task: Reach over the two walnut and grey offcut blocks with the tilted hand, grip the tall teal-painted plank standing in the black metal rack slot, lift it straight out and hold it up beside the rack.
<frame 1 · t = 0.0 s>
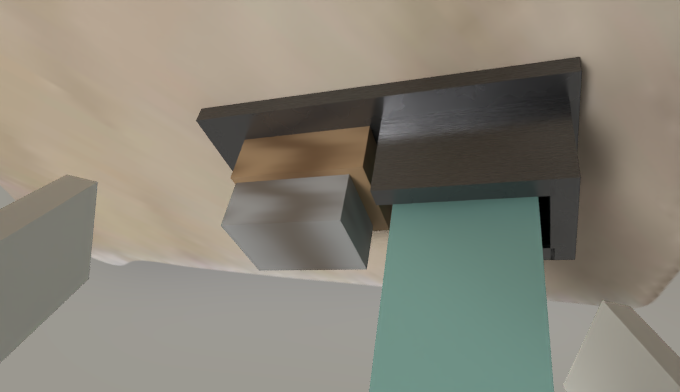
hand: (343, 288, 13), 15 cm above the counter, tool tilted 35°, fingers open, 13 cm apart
rack: (468, 140, 30), on the counter
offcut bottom: (321, 166, 32), point 1 cm above the counter, touching offcut top, rack
offcut top: (306, 204, 31), point 4 cm above the counter, touching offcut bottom
plank: (467, 153, 29), point 1 cm above the counter, touching rack
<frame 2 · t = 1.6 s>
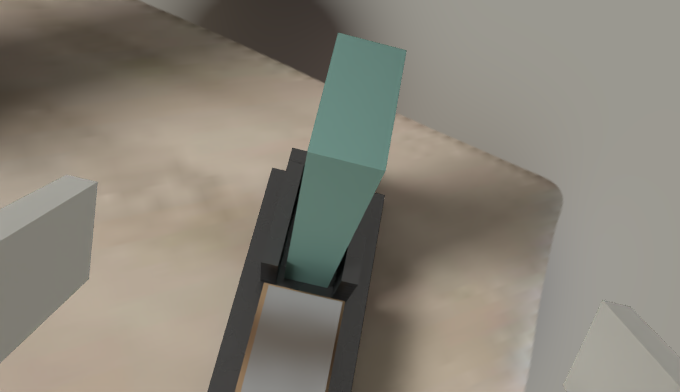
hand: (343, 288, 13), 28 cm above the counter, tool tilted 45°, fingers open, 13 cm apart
rack: (313, 246, 43), on the counter
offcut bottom: (289, 354, 38), point 1 cm above the counter, touching offcut top, rack
offcut top: (290, 353, 35), point 4 cm above the counter, touching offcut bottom
plank: (314, 242, 42), point 1 cm above the counter, touching rack
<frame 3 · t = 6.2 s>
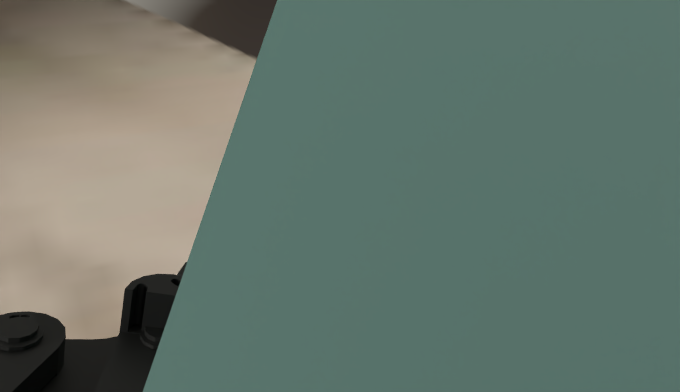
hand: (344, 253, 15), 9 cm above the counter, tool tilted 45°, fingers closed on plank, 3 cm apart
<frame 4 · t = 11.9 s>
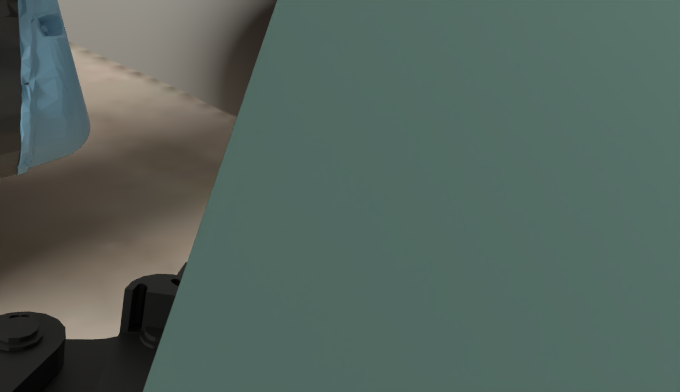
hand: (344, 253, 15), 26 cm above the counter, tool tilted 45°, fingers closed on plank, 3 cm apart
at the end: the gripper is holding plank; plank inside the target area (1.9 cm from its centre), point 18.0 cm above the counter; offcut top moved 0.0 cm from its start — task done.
